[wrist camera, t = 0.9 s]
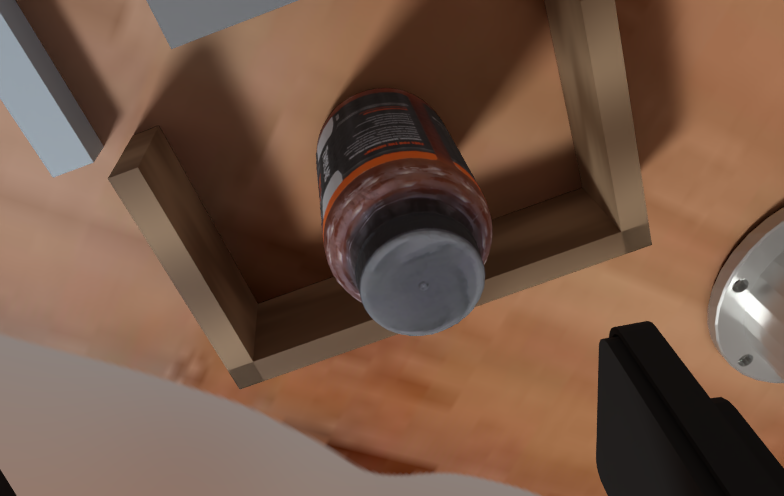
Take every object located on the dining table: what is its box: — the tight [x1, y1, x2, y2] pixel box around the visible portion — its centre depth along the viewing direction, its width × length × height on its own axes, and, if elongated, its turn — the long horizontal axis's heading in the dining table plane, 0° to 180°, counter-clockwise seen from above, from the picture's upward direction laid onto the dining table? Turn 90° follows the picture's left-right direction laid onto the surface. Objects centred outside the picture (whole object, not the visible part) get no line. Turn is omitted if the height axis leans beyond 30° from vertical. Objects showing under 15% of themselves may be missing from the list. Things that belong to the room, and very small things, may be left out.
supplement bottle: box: [316, 88, 493, 336], centre depth 26 cm, size 6×6×11 cm
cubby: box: [108, 0, 652, 389], centre depth 29 cm, size 11×19×4 cm, turn 109°
